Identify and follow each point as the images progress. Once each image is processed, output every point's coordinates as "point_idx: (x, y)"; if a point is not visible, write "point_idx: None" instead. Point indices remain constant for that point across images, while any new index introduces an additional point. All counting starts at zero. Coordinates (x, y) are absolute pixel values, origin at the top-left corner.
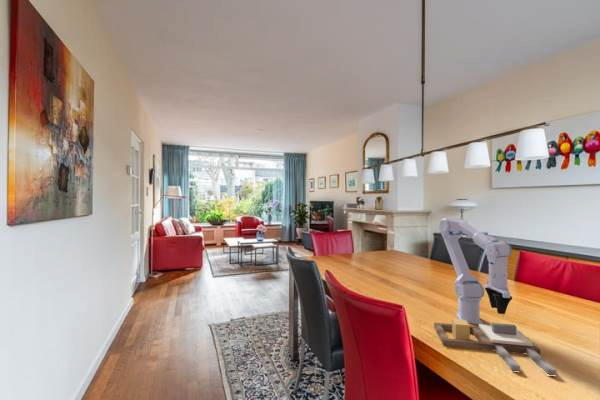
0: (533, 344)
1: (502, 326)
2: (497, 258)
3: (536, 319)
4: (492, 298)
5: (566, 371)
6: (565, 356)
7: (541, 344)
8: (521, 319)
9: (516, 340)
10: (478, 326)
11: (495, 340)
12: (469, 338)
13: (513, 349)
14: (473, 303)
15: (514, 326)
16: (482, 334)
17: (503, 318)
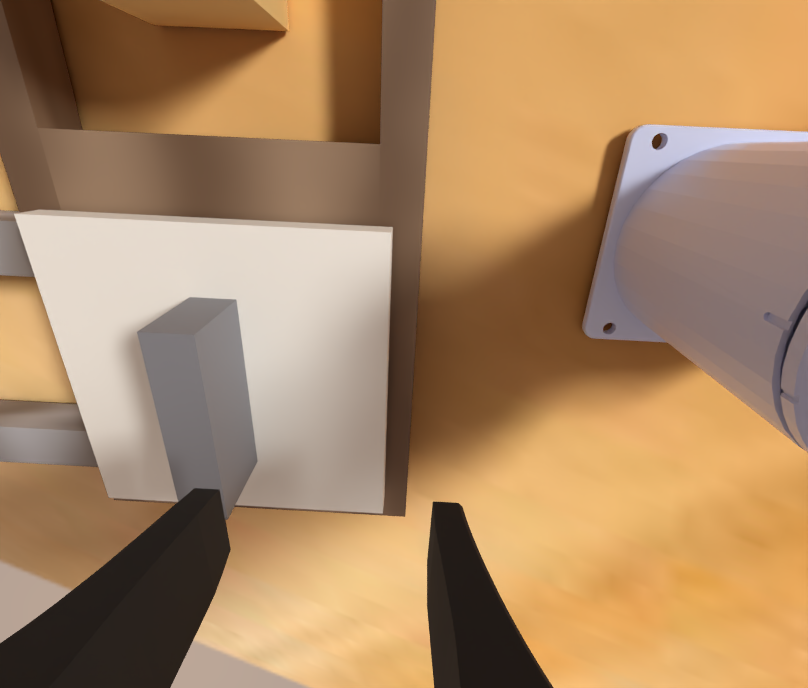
0: None
1: (163, 406)
2: None
3: (662, 666)
4: (453, 679)
5: (17, 501)
6: None
7: (309, 541)
8: (670, 605)
9: (107, 417)
10: (419, 231)
11: (28, 243)
12: (130, 13)
13: None
14: (765, 333)
15: None
16: (221, 193)
17: (701, 522)
